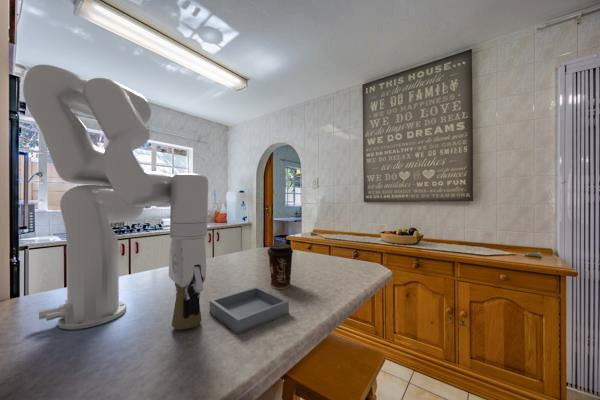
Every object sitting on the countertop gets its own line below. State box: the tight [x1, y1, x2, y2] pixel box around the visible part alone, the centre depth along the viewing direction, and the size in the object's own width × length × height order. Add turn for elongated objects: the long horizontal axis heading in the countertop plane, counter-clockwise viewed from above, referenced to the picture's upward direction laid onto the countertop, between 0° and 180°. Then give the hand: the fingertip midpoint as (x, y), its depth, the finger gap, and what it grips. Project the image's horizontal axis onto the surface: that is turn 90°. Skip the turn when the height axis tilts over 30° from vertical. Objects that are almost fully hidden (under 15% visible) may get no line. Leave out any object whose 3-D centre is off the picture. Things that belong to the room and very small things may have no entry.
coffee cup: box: [267, 243, 294, 290], centre depth 81 cm, size 9×8×13 cm
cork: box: [171, 281, 202, 330], centre depth 55 cm, size 6×6×11 cm
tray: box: [209, 286, 290, 335], centre depth 62 cm, size 14×14×3 cm
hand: (187, 311), depth 55 cm, fingers closed on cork, 3 cm apart
